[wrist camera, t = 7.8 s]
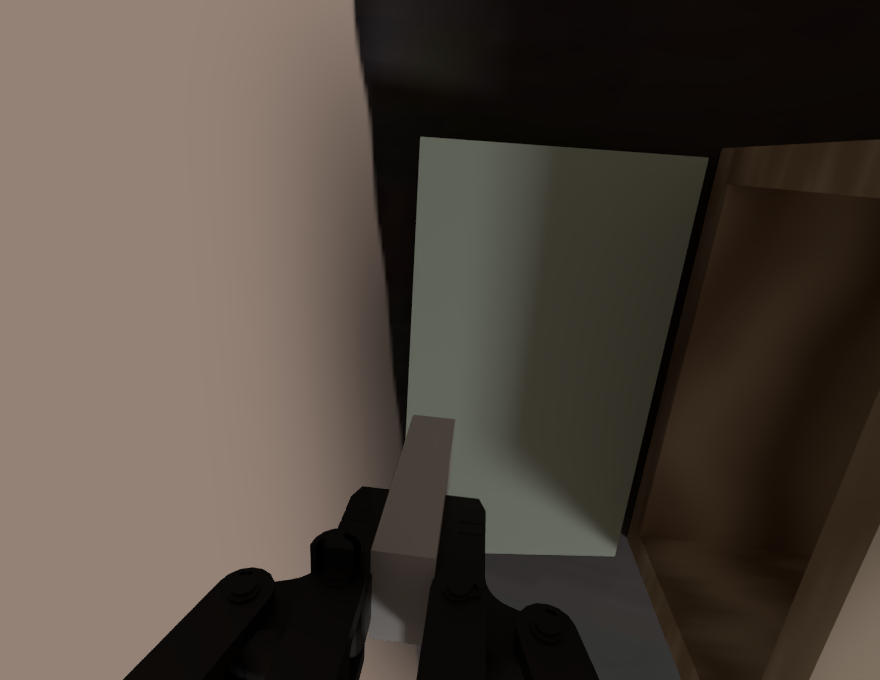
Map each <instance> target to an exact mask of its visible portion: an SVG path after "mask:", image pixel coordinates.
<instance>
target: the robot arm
mask: <svg viewBox="0 0 880 680" xmlns="http://www.w3.org/2000/svg"><path fill="white" fill-rule="evenodd" d="M454 429H455V419H450V418H440V417H431V416H422V415H413V416H412V420H411V423H410V426H409V429H408V433H407V436H406V439H405V442H404V445H403V449H402V452H401V455H400V458H399V462H398V465H397V468H396V472H395V475H394V478H393V481H392V484H391V487H390V490H389V489H381V488H380V489H379V488H372V487H363V486H362V487H361V488H360V489H359V490H358V491H357V492H356V493H354V494H353V495H352V496H351V498H350V500H349V503H348V505H347V507H346V511H345V513H344V515H343V517H342V521H341V522H340V524H339V526H338V529H332V530H329V531H325V532H323V533H322V534H320V535H319V536H317V537H316V538H315V539H314V540H313V542H312V543H311V545H310V551H311V573H310V574H308V575H305V576H303V577H300V578H296V579H291V580H284V581H277V582H274V580H273V578H272V576H271V574H270V573H268V572H267V571H265V570H263V569H259V568H245V569H240V570H237V571H235V572H233V573H230V574H229V575H227V576H226V577H225V578H223V579H222V580H221V581H220V582H219V583H218V584H217V585H216V586H215V587H214V588H213V589H212V590H211V591H210V592H209V593H208V594H207V595H206V596H205V597H204V598H203V599H202V600H201V601H200V602H199V603H198V604H197V605H196V606H195V607H194V608H193V609H192V610H191V611H190V612H189V613H188V614H187V615H186V616H185V617H184V618H183V619H182V620H181V621H180V622H179V623H178V624H177V625H176V626H175V627H174V628H173V629H172V631H170V632H169V633H168V634H167V636H166V637H164V638H163V639H162V640H161V641H160V643H159V644H158V645H157V646H156V647H155V648H154V649H153V650H152V651H151V652H150V653H149V654H148V655H147V656H146V657H145V658H144V659H143V660H142V661H141V662H140V663H139V664H138V665H137V666H136V667H135V668H134V669H133V670H132V671H131V672H130V673H129V674H128V675H127V676H126V677H125V678H124V679H123V680H359V678H360V674H361V670H362V666H363V662H364V646H365V644H364V643H365V640H366V636H367V632H368V629H369V638H372V639H379V640H386V641H393V642H401V643H408V644H415V645H422V646H421V653H420V660H419V666H418V673H417V680H599V678H598V676H597V673H596V671H595V669H594V667H593V664H592V662H591V660H590V658H589V656H588V653H587V651H586V649H585V647H584V644H583V642H582V640H581V638H580V635H579V633H578V631H577V629H576V626H575V625H574V623H573V622H572V620H571V619H570V617H569V616H567V615H566V614H565V613H564V612H562V611H561V610H560V609H558V608H556V607H553V606H551V605H549V604H539V603H536V604H532V605H529V606H526V607H525V608H524V609H523V610H521V611H518V610H516V609H514V608H511V607H509V606H507V605H505V604H504V603H502V602H500V601H499V600H498V599H496V598H495V597H494V596H493V595H492V593H491V592H490V591H489V589H488V587H487V585H486V581H485V533H486V527H485V526H486V511H485V509H484V507H483V505H482V503H481V502H480V500H479V499H476V498H468V497H459V496H451V495H448V494H449V486H450V475H451V463H452V452H453V440H454Z"/></svg>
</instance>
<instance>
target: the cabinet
mask: <svg viewBox="0 0 880 680" xmlns="http://www.w3.org/2000/svg"><path fill="white" fill-rule="evenodd" d="M627 539H628V542H629V545H630V547H631V550H632V552H633V555H634V558H635V560H636V563H637V565H638V568H639V571H640V573H641V576H642V578H643V581H644V584H645V586H646V589H647V591H648V594H649V597H650V599H651V602H652V604H653V607H654V610H655V612H656V615H657V617H658V620H659V623H660V625H661V628H662V630H663V633H664V636H665V638H666V641H667V643H668V646H669V649H670V651H671V654H672V656H673V659H674V662H675V664H676V667H677V669H678V672H679V675H680V677H681V680H880V139H879V140H861V141H843V142H826V143H808V144H790V145H772V146H754V147H737V148H722V149H721V153H720V158H719V162H718V166H717V170H716V174H715V178H714V182H713V186H712V191H711V195H710V199H709V203H708V207H707V211H706V215H705V219H704V223H703V228H702V232H701V236H700V240H699V244H698V248H697V252H696V256H695V261H694V265H693V269H692V273H691V277H690V281H689V285H688V289H687V294H686V298H685V302H684V306H683V310H682V314H681V318H680V322H679V326H678V331H677V335H676V339H675V343H674V347H673V351H672V355H671V359H670V364H669V368H668V372H667V376H666V380H665V384H664V388H663V392H662V397H661V401H660V405H659V409H658V413H657V417H656V421H655V425H654V430H653V434H652V438H651V442H650V446H649V450H648V454H647V458H646V462H645V467H644V471H643V475H642V479H641V483H640V487H639V491H638V495H637V500H636V504H635V508H634V512H633V516H632V520H631V524H630V528H629V533H628V537H627Z"/></svg>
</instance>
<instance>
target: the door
mask: <svg viewBox="0 0 880 680" xmlns="http://www.w3.org/2000/svg"><path fill="white" fill-rule="evenodd" d="M708 159H709V158H707V157H694V156H680V155H666V154H652V153H639V152H625V151H611V150H597V149H584V148H570V147H556V146H542V145H529V144H515V143H501V142H487V141H473V140H460V139H446V138H432V137H420V151H419V172H418V193H417V213H416V234H415V254H414V275H413V296H412V316H411V337H410V357H409V378H408V399H407V419H406V436H407V433H408V429H409V426H410V423H411V420H412V416H413V415H422V416H431V417H440V418H450V419H455V429H454V440H453V452H452V463H451V475H450V486H449V494H448V495H451V496H459V497H468V498H476V499H479V500H480V502H481V503H482V505H483V507H484V509H485V511H486V526H485V527H486V533H485V553H497V554H538V555H578V556H615V554H616V550H617V545H618V541H619V537H620V533H621V528H622V524H623V520H624V516H625V511H626V507H627V503H628V499H629V494H630V490H631V486H632V482H633V477H634V473H635V469H636V465H637V460H638V456H639V452H640V448H641V444H642V439H643V435H644V431H645V427H646V422H647V418H648V414H649V410H650V405H651V401H652V397H653V393H654V388H655V384H656V380H657V376H658V371H659V367H660V363H661V359H662V355H663V350H664V346H665V342H666V338H667V333H668V329H669V325H670V321H671V316H672V312H673V308H674V304H675V299H676V295H677V291H678V287H679V282H680V278H681V274H682V270H683V265H684V261H685V257H686V253H687V249H688V244H689V240H690V236H691V232H692V227H693V223H694V219H695V215H696V210H697V206H698V202H699V198H700V193H701V189H702V185H703V181H704V176H705V172H706V168H707V164H708Z"/></svg>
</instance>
